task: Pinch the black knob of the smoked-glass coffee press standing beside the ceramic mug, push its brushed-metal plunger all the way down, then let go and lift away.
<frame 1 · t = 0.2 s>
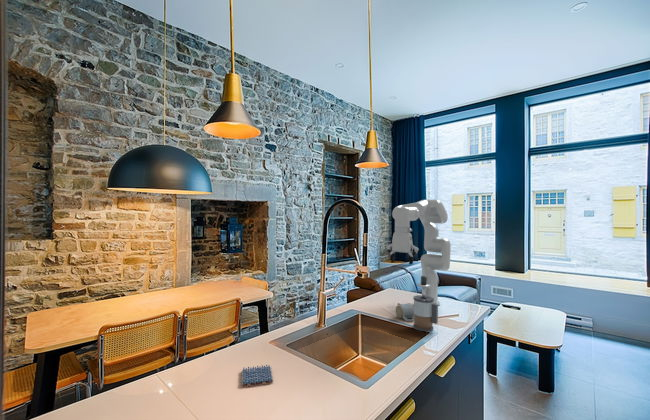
hand: (401, 263, 154), 31 cm above the countertop, fingers open, 9 cm apart
blue-grey spiked square pad: (257, 379, 100), on the countertop
plunger: (423, 289, 147), point 19 cm above the countertop, slide at 0.0 cm
press: (423, 327, 147), on the countertop
ceramic mug: (406, 319, 160), on the countertop
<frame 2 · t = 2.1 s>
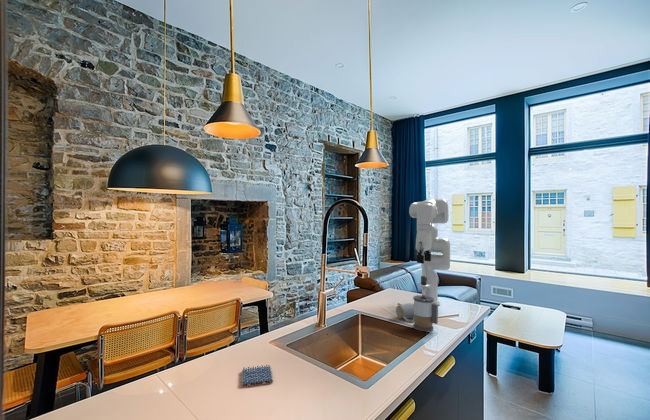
hand: (424, 262, 147), 33 cm above the countertop, fingers open, 9 cm apart
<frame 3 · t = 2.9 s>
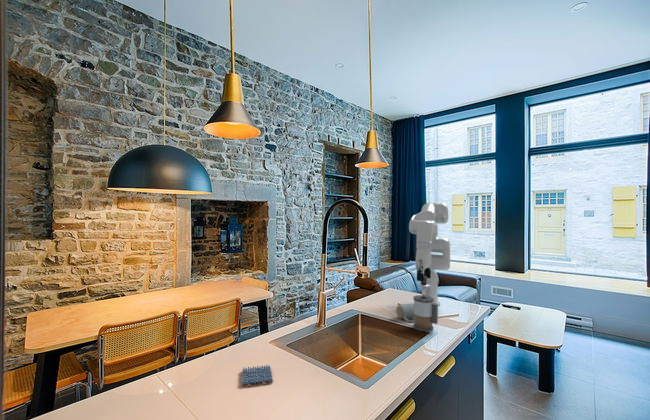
hand: (423, 279, 147), 24 cm above the countertop, fingers open, 9 cm apart
nothing on the countertop moved.
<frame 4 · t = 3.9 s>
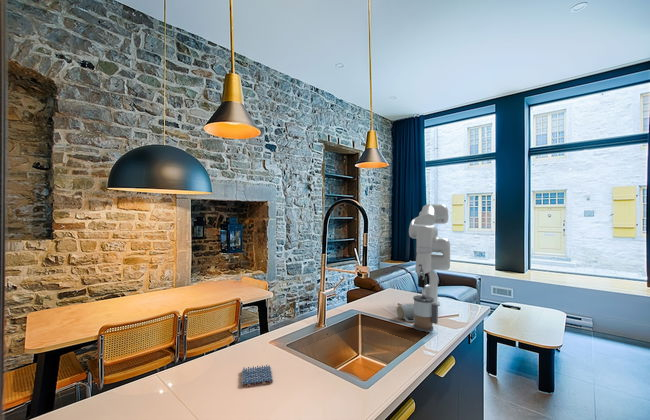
hand: (423, 285, 147), 21 cm above the countertop, fingers closed on plunger, 6 cm apart
plunger: (423, 289, 147), point 19 cm above the countertop, slide at 0.0 cm, touching gripper
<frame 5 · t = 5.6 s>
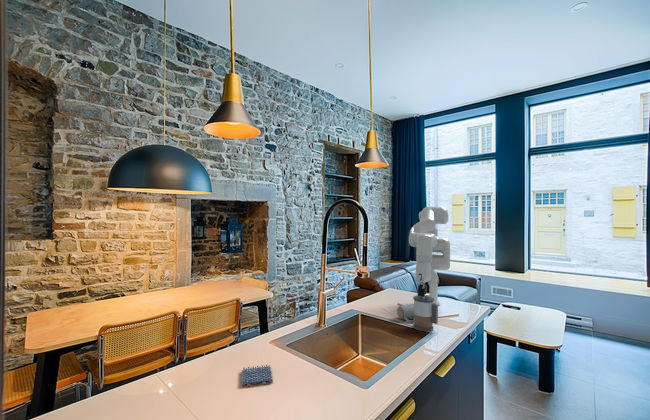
hand: (423, 294, 147), 17 cm above the countertop, fingers closed on plunger, 6 cm apart
plunger: (423, 298, 147), point 15 cm above the countertop, slide at 4.5 cm, touching gripper
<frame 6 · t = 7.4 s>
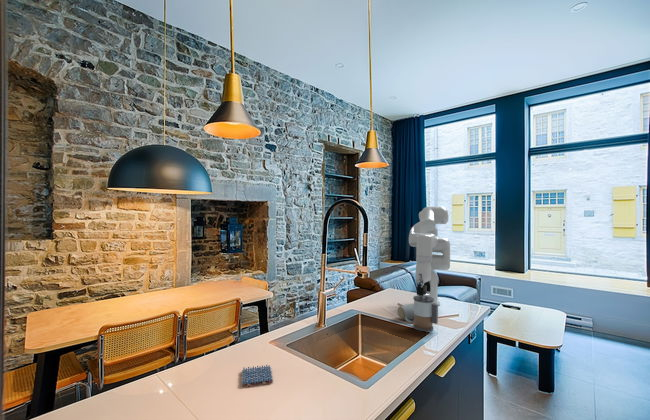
hand: (423, 293, 147), 17 cm above the countertop, fingers open, 9 cm apart
plunger: (423, 298, 147), point 15 cm above the countertop, slide at 4.5 cm
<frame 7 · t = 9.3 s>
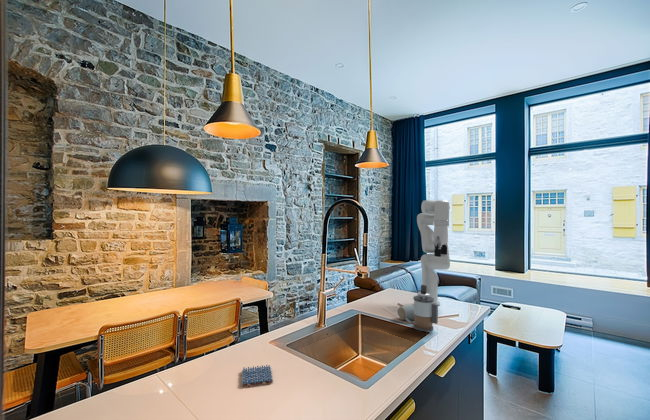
hand: (440, 255, 157), 35 cm above the countertop, fingers open, 9 cm apart
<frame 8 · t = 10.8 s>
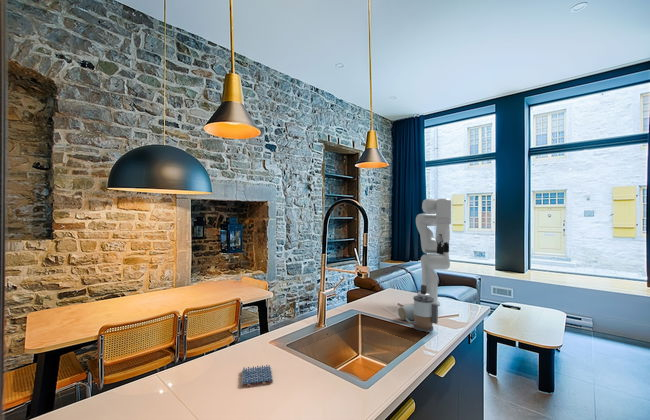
hand: (443, 253, 158), 36 cm above the countertop, fingers open, 9 cm apart
at the end: plunger slide at 4.5 cm; the gripper is holding nothing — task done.
